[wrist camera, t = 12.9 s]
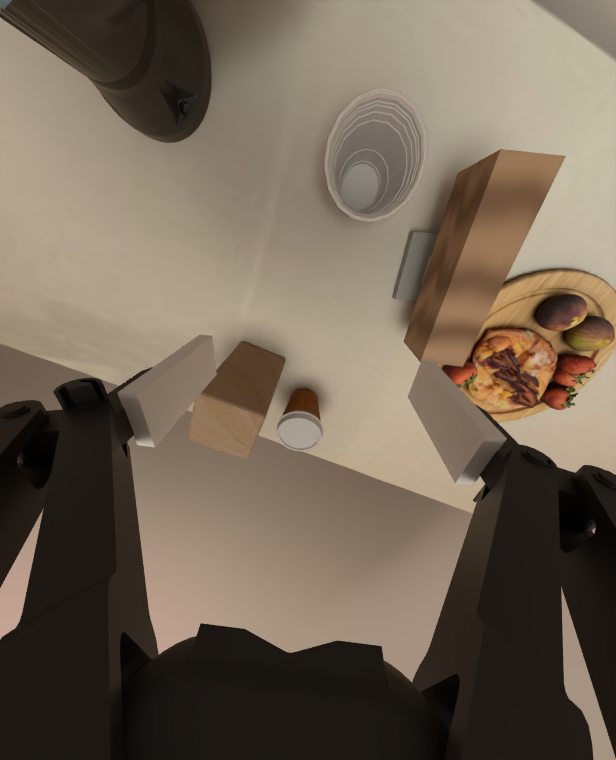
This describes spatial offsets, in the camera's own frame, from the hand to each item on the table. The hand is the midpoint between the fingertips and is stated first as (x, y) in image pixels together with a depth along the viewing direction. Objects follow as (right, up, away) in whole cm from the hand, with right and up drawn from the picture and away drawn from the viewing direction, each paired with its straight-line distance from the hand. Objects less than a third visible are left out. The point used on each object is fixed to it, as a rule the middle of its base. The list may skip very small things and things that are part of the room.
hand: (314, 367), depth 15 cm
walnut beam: (+20, +15, +19) cm, 31 cm away
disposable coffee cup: (-1, -5, +40) cm, 41 cm away
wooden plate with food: (+41, +4, +32) cm, 52 cm away
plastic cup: (+7, +28, +20) cm, 35 cm away
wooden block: (-12, +2, +37) cm, 39 cm away
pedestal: (+20, +18, +25) cm, 37 cm away
